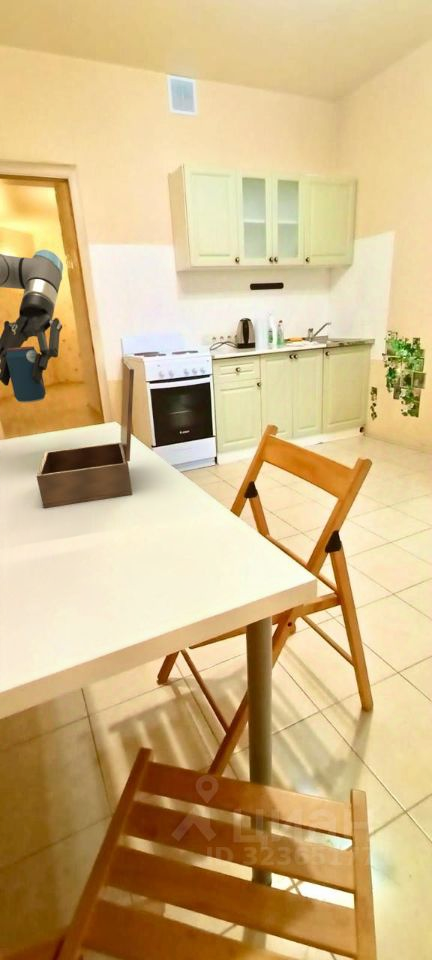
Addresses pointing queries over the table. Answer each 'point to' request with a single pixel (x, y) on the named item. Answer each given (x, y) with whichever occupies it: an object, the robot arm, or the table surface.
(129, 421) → the lid
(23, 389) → the soda can
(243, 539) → the table surface
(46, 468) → the brown wooden open box
